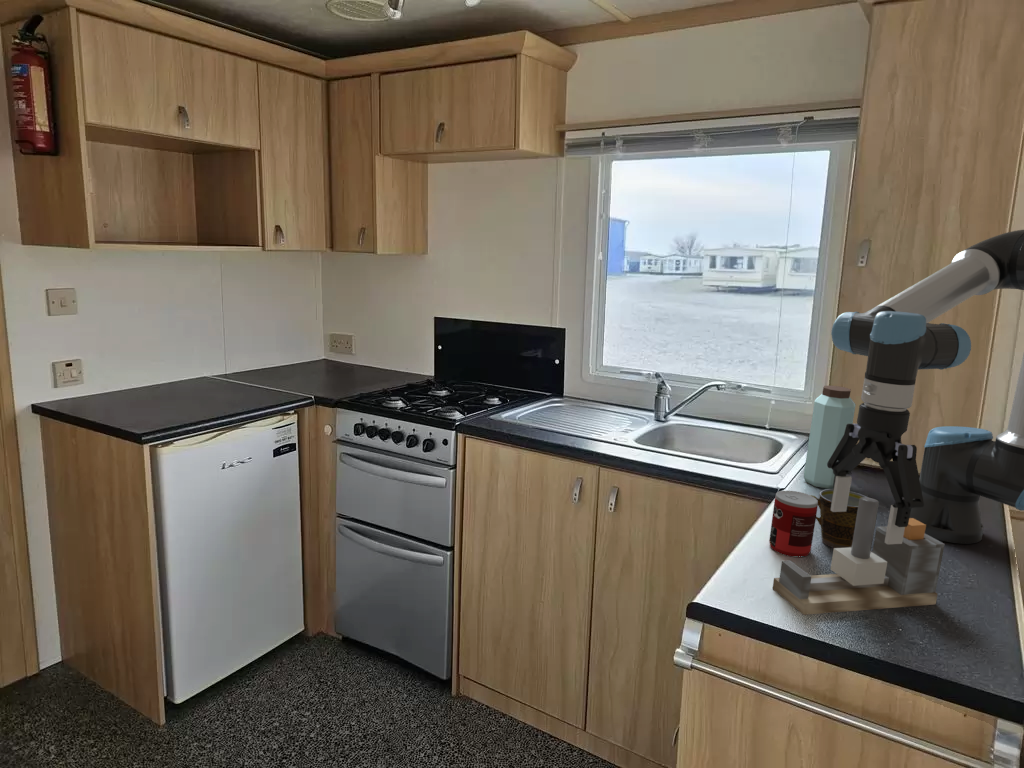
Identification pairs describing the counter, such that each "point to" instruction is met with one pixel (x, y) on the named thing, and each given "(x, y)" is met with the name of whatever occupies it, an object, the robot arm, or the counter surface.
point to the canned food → (793, 523)
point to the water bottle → (827, 433)
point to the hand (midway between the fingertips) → (864, 526)
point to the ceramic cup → (837, 520)
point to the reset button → (914, 530)
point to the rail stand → (903, 584)
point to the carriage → (861, 550)
